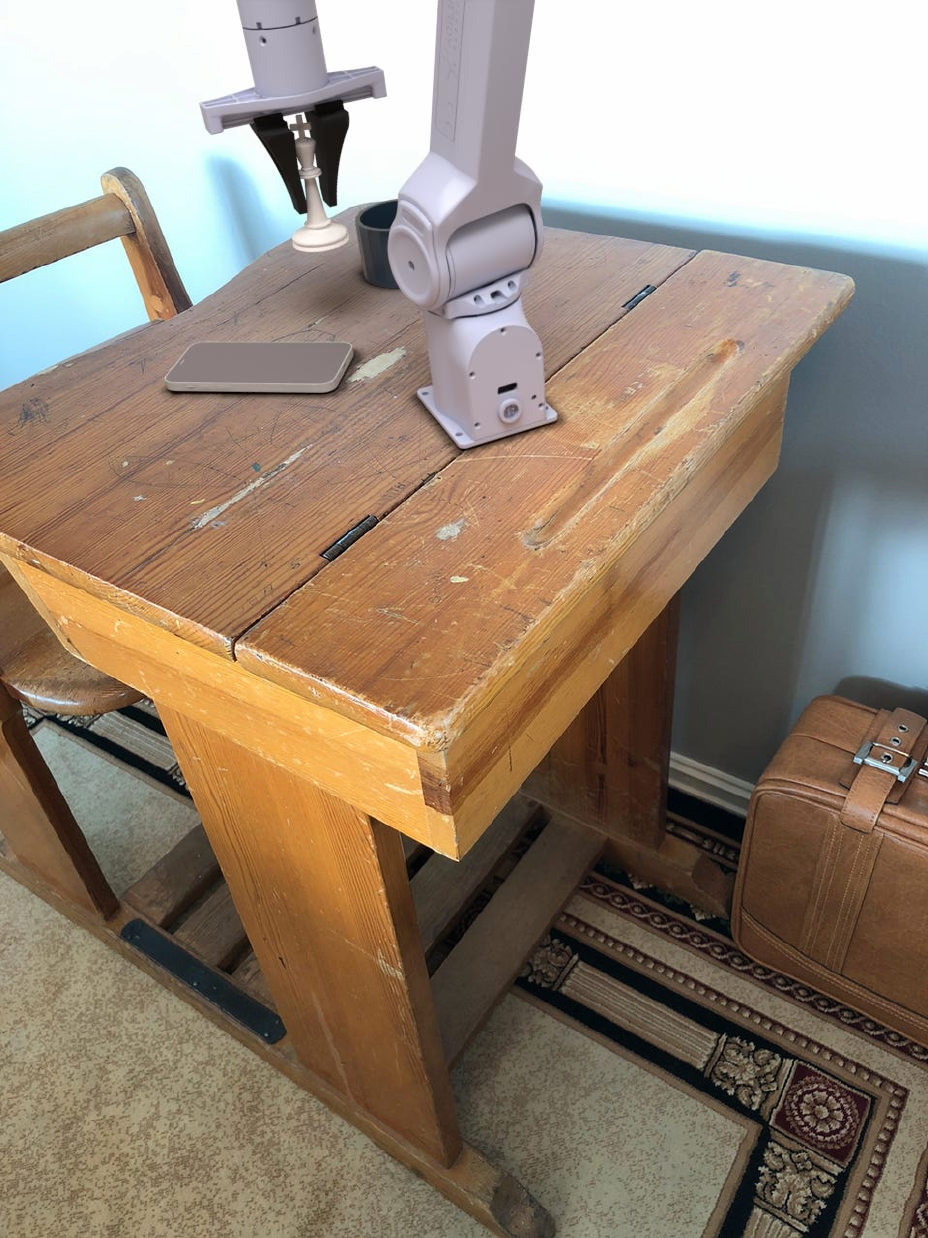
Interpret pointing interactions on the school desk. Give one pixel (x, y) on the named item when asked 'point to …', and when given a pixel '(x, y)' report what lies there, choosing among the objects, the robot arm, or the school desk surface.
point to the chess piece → (314, 201)
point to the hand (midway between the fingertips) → (315, 206)
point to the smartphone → (260, 367)
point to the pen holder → (376, 242)
